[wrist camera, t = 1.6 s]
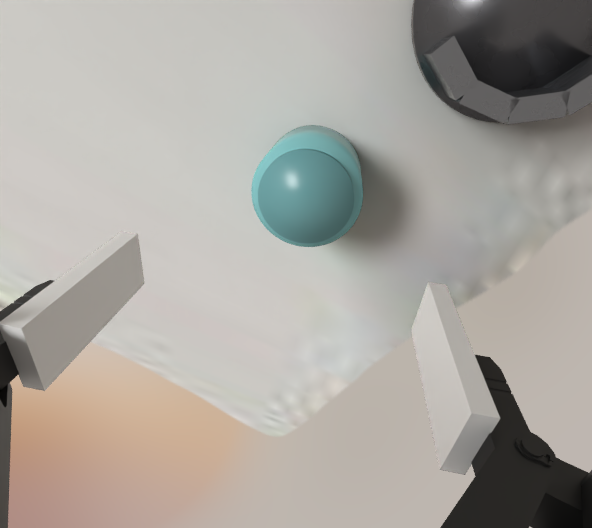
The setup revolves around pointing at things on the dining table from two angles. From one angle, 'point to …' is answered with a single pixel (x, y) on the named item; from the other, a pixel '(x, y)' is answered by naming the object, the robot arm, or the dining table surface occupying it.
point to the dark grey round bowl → (506, 56)
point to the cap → (309, 187)
